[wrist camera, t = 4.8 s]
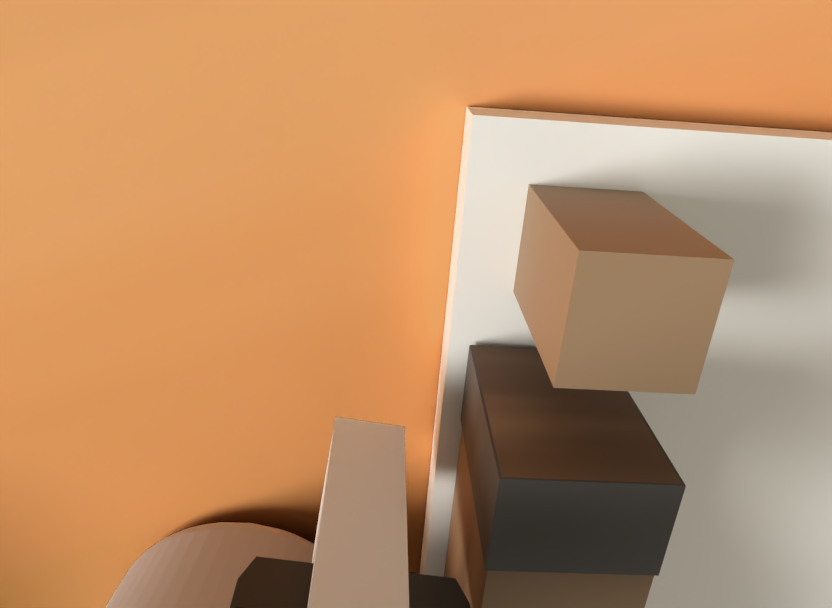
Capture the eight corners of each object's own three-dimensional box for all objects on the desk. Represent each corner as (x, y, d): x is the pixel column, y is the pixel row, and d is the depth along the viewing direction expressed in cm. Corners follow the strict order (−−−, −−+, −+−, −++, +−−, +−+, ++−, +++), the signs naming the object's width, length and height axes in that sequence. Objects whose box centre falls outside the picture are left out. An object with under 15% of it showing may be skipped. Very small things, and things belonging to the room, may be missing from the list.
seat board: (466, 105, 14) (504, 157, 9) (1166, 156, 15) (1528, 225, 10) (401, 753, 23) (403, 948, 18) (838, 759, 24) (948, 945, 19)
